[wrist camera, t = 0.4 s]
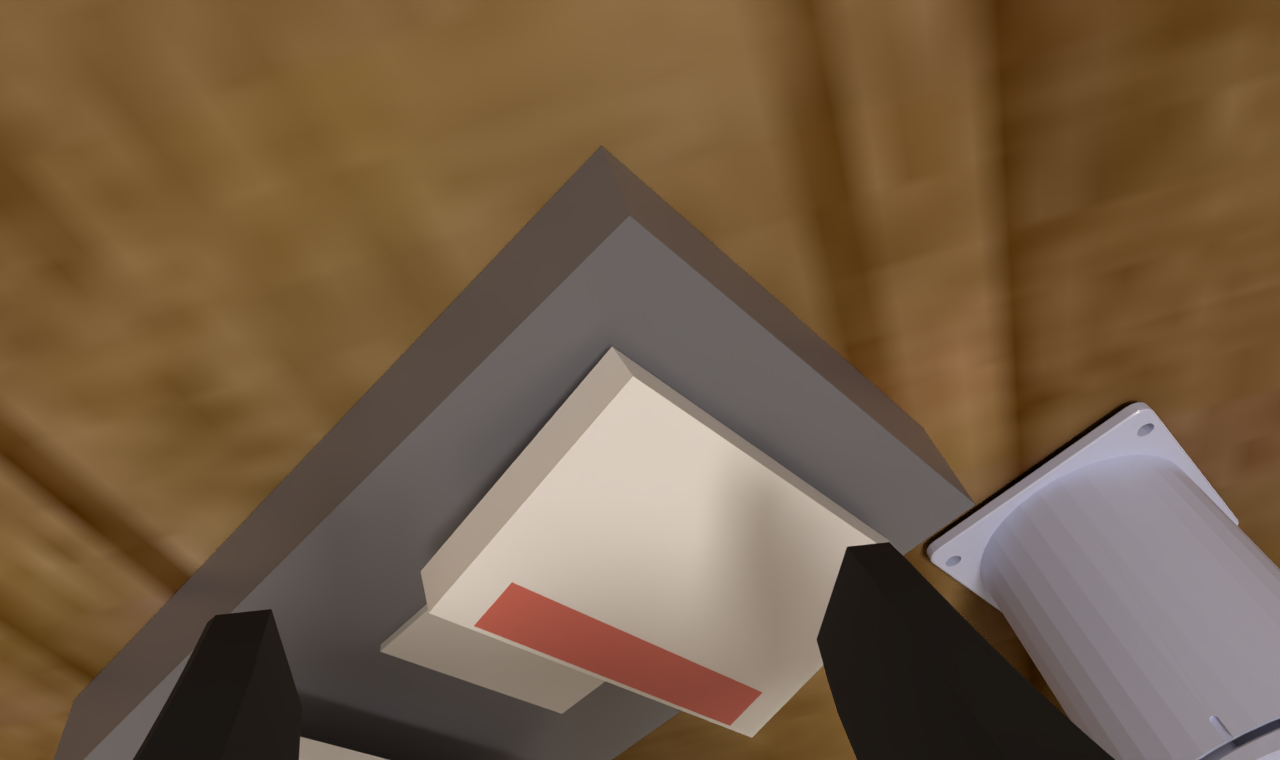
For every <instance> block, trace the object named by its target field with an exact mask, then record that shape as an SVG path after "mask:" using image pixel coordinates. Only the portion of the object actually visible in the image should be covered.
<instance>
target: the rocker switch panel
mask: <svg viewBox="0 0 1280 760" xmlns="http://www.w3.org/2000/svg"><path fill="white" fill-rule="evenodd" d="M611 347H614V348H615V349H616V350H618V351H619V352H621V353H622V354H623V355H625V356H626V357H628V358H629V359H631V360H632V361H633V362H635V363H636V364H638V365H639V366H641V367H642V368H643V369H645V370H646V371H648V372H649V373H651V374H652V375H653V376H655V377H656V378H658V379H659V380H661V381H662V382H663V383H665V384H666V385H668V386H669V387H671V388H672V389H673V390H675V391H676V392H678V393H679V394H681V395H682V396H683V397H685V398H686V399H688V400H689V401H691V402H692V403H693V404H695V405H696V406H698V407H699V408H701V409H702V410H703V411H705V412H706V413H708V414H709V415H711V416H712V417H713V418H715V419H716V420H718V421H719V422H721V423H722V424H723V425H725V426H726V427H728V428H729V429H731V430H732V431H733V432H735V433H736V434H738V435H739V436H741V437H742V438H743V439H745V440H746V441H748V442H749V443H751V444H752V445H753V446H755V447H756V448H758V449H759V450H761V451H762V452H763V453H765V454H766V455H768V456H769V457H771V458H772V459H773V460H775V461H776V462H778V463H779V464H781V465H782V466H783V467H785V468H786V469H788V470H789V471H791V472H792V473H793V474H795V475H796V476H798V477H799V478H801V479H802V480H803V481H805V482H806V483H808V484H809V485H811V486H812V487H813V488H815V489H816V490H818V491H819V492H820V493H822V494H823V495H825V496H826V497H828V498H829V499H830V500H832V501H833V502H835V503H836V504H838V505H839V506H840V507H842V508H843V509H845V510H846V511H848V512H849V513H850V514H852V515H853V516H855V517H856V518H858V519H859V520H860V521H862V522H863V523H865V524H866V525H868V526H869V527H870V528H872V529H873V530H875V531H876V532H878V533H879V534H880V535H882V536H883V537H885V538H886V539H888V540H889V541H890V543H891V544H892V545H893V546H894V547H895V548H896V549H897V550H898V551H899V552H900V553H901V554H902V555H904V554H906V553H907V552H909V551H910V550H911V549H913V548H914V547H916V546H917V545H919V544H920V543H921V542H923V541H924V540H926V539H927V538H929V537H930V536H931V535H933V534H934V533H936V532H937V531H939V530H940V529H941V528H943V527H944V526H946V525H947V524H948V523H950V522H951V521H953V520H954V519H956V518H957V517H958V516H960V515H961V514H963V513H964V512H966V511H967V510H968V509H970V508H971V507H973V506H974V505H975V503H974V502H973V500H972V499H971V497H970V496H969V494H968V493H967V491H966V490H965V489H964V487H963V486H962V484H961V483H960V481H959V480H958V478H957V477H956V475H955V474H954V472H953V471H952V470H951V468H950V467H949V465H948V464H947V462H946V461H945V459H944V458H943V456H942V455H941V453H940V452H939V451H938V449H937V448H936V446H935V445H934V443H933V442H932V440H931V439H930V437H929V436H928V434H927V433H926V432H925V430H924V429H923V428H922V427H921V426H920V425H919V424H918V423H917V422H915V421H914V420H913V419H912V418H911V417H910V416H909V415H908V414H906V413H905V412H904V411H903V410H902V409H901V408H900V407H898V406H897V405H896V404H895V403H894V402H893V401H892V400H890V399H889V398H888V397H887V396H886V395H885V394H884V393H883V392H881V391H880V390H879V389H878V388H877V387H876V386H875V385H873V384H872V383H871V382H870V381H869V380H868V379H867V378H865V377H864V376H863V375H862V374H861V373H860V372H859V371H857V370H856V369H855V368H854V367H853V366H852V365H851V364H850V363H848V362H847V361H846V360H845V359H844V358H843V357H842V356H840V355H839V354H838V353H837V352H836V351H835V350H834V349H832V348H831V347H830V346H829V345H828V344H827V343H826V342H824V341H823V340H822V339H821V338H820V337H819V336H818V335H817V334H815V333H814V332H813V331H812V330H811V329H810V328H809V327H807V326H806V325H805V324H804V323H803V322H802V321H801V320H799V319H798V318H797V317H796V316H795V315H794V314H793V313H792V312H790V311H789V310H788V309H787V308H786V307H785V306H784V305H782V304H781V303H780V302H779V301H778V300H777V299H776V298H774V297H773V296H772V295H771V294H770V293H769V292H768V291H766V290H765V289H764V288H763V287H762V286H761V285H760V284H759V283H757V282H756V281H755V280H754V279H753V278H752V277H751V276H749V275H748V274H747V273H746V272H745V271H744V270H743V269H741V268H740V267H739V266H738V265H737V264H736V263H735V262H734V261H732V260H731V259H730V258H729V257H728V256H727V255H726V254H724V253H723V252H722V251H721V250H720V249H719V248H718V247H716V246H715V245H714V244H713V243H712V242H711V241H710V240H708V239H707V238H706V237H705V236H704V235H703V234H702V233H701V232H699V231H698V230H697V229H696V228H695V227H694V226H693V225H691V224H690V223H689V222H688V221H687V220H686V219H685V218H683V217H682V216H681V215H680V214H679V213H678V212H677V211H675V210H674V209H673V208H672V207H671V206H670V205H669V204H668V203H666V202H665V201H664V200H663V199H662V198H661V197H660V196H658V195H657V194H656V193H655V192H654V191H653V190H652V189H650V188H649V187H648V186H647V185H646V184H645V183H644V182H643V181H641V180H640V179H639V178H638V177H637V176H636V175H635V174H633V173H632V172H631V171H630V170H629V169H628V168H627V167H625V166H624V165H623V164H622V163H621V162H620V161H619V160H617V159H616V158H615V157H614V156H613V155H612V154H611V153H610V152H608V151H607V150H606V149H605V148H604V147H603V146H601V147H600V148H599V149H598V150H597V151H596V152H595V153H594V154H593V155H592V156H591V157H590V158H589V159H588V160H587V162H586V163H585V164H584V165H583V166H582V167H581V168H580V169H579V170H578V171H577V172H576V173H575V174H574V175H573V176H572V177H571V178H570V179H569V180H568V182H567V183H566V184H565V185H564V186H563V187H562V188H561V189H560V190H559V191H558V192H557V193H556V194H555V195H554V196H553V197H552V198H551V199H550V200H549V201H548V203H547V204H546V205H545V206H544V207H543V208H542V209H541V210H540V211H539V212H538V213H537V214H536V215H535V216H534V217H533V218H532V219H531V220H530V221H529V223H528V224H527V225H526V226H525V227H524V228H523V229H522V230H521V231H520V232H519V233H518V234H517V235H516V236H515V237H514V238H513V239H512V240H511V241H510V242H509V244H508V245H507V246H506V247H505V248H504V249H503V250H502V251H501V252H500V253H499V254H498V255H497V256H496V257H495V258H494V259H493V260H492V261H491V262H490V264H489V265H488V266H487V267H486V268H485V269H484V270H483V271H482V272H481V273H480V274H479V275H478V276H477V277H476V278H475V279H474V280H473V281H472V282H471V283H470V285H469V286H468V287H467V288H466V289H465V290H464V291H463V292H462V293H461V294H460V295H459V296H458V297H457V298H456V299H455V300H454V301H453V302H452V303H451V305H450V306H449V307H448V308H447V309H446V310H445V311H444V312H443V313H442V314H441V315H440V316H439V317H438V318H437V319H436V320H435V321H434V322H433V323H432V324H431V326H430V327H429V328H428V329H427V330H426V331H425V332H424V333H423V334H422V335H421V336H420V337H419V338H418V339H417V340H416V341H415V342H414V343H413V344H412V346H411V347H410V348H409V349H408V350H407V351H406V352H405V353H404V354H403V355H402V356H401V357H400V358H399V359H398V360H397V361H396V362H395V363H394V364H393V365H392V367H391V368H390V369H389V370H388V371H387V372H386V373H385V374H384V375H383V376H382V377H381V378H380V379H379V380H378V381H377V382H376V383H375V384H374V385H373V387H372V388H371V389H370V390H369V391H368V392H367V393H366V394H365V395H364V396H363V397H362V398H361V399H360V400H359V401H358V402H357V403H356V404H355V405H354V406H353V408H352V409H351V410H350V411H349V412H348V413H347V414H346V415H345V416H344V417H343V418H342V419H341V420H340V421H339V422H338V423H337V424H336V425H335V426H334V427H333V429H332V430H331V431H330V432H329V433H328V434H327V435H326V436H325V437H324V438H323V439H322V440H321V441H320V442H319V443H318V444H317V445H316V446H315V447H314V449H313V450H312V451H311V452H310V453H309V454H308V455H307V456H306V457H305V458H304V459H303V460H302V461H301V462H300V463H299V464H298V465H297V466H296V467H295V468H294V470H293V471H292V472H291V473H290V474H289V475H288V476H287V477H286V478H285V479H284V480H283V481H282V482H281V483H280V484H279V485H278V486H277V487H276V488H275V490H274V491H273V492H272V493H271V494H270V495H269V496H268V497H267V498H266V499H265V500H264V501H263V502H262V503H261V504H260V505H259V506H258V507H257V508H256V509H255V511H254V512H253V513H252V514H251V515H250V516H249V517H248V518H247V519H246V520H245V521H244V522H243V523H242V524H241V525H240V526H239V527H238V528H237V529H236V531H235V532H234V533H233V534H232V535H231V536H230V537H229V538H228V539H227V540H226V541H225V542H224V543H223V544H222V545H221V546H220V547H219V548H218V549H217V550H216V552H215V553H214V554H213V555H212V556H211V557H210V558H209V559H208V560H207V561H206V562H205V563H204V564H203V565H202V566H201V567H200V568H199V569H198V570H197V572H196V573H195V574H194V575H193V576H192V577H191V578H190V579H189V580H188V581H187V582H186V583H185V584H184V585H183V586H182V587H181V588H180V589H179V590H178V591H177V593H176V594H175V595H174V596H173V597H172V598H171V599H170V600H169V601H168V602H167V603H166V604H165V605H164V606H163V607H162V608H161V609H160V610H159V611H158V613H157V614H156V615H155V616H154V617H153V618H152V619H151V620H150V621H149V622H148V623H147V624H146V625H145V626H144V627H143V628H142V629H141V630H140V631H139V632H138V634H137V635H136V636H135V637H134V638H133V639H132V640H131V641H130V642H129V643H128V644H127V645H126V646H125V647H124V648H123V649H122V650H121V651H120V652H119V654H118V655H117V656H116V657H115V658H114V659H113V660H112V661H111V662H110V663H109V664H108V665H107V666H106V667H105V668H104V669H103V670H102V671H101V672H100V673H99V675H98V676H97V677H96V678H95V679H94V680H93V681H92V682H91V683H90V684H89V685H88V686H87V687H86V688H85V689H84V690H83V691H82V692H81V693H80V695H79V696H78V697H77V698H76V699H75V700H74V702H73V705H72V708H71V711H70V714H69V717H68V720H67V722H66V725H65V728H64V731H63V734H62V737H61V740H60V743H59V746H58V749H57V752H56V755H55V757H54V760H133V758H134V757H135V755H136V753H137V752H138V750H139V748H140V747H141V745H142V743H143V742H144V740H145V738H146V736H147V735H148V733H149V731H150V729H151V728H152V726H153V724H154V722H155V720H156V719H157V717H158V715H159V713H160V712H161V710H162V708H163V706H164V705H165V703H166V701H167V699H168V697H169V695H170V694H171V692H172V690H173V688H174V686H175V684H176V683H177V681H178V679H179V677H180V675H181V673H182V671H183V669H184V667H185V666H186V664H187V662H188V660H189V658H190V656H191V654H192V652H193V650H194V648H195V646H196V644H197V642H198V640H199V638H200V636H201V634H202V632H203V630H204V628H205V626H206V624H207V622H208V621H209V620H211V619H212V618H213V617H214V616H215V615H221V614H230V613H239V612H249V611H258V610H267V609H272V612H273V616H274V619H275V622H276V625H277V628H278V632H279V635H280V638H281V641H282V644H283V648H284V651H285V654H286V657H287V660H288V664H289V667H290V670H291V673H292V676H293V680H294V683H295V686H296V689H297V692H298V696H299V699H300V702H301V705H302V714H301V732H300V737H304V738H308V739H311V740H315V741H319V742H323V743H327V744H331V745H334V746H338V747H342V748H346V749H350V750H354V751H357V752H361V753H365V754H369V755H373V756H376V757H380V758H384V759H388V760H612V759H614V758H615V757H617V756H618V755H619V754H621V753H622V752H624V751H625V750H627V749H628V748H629V747H631V746H632V745H634V744H635V743H636V742H638V741H639V740H641V739H642V738H644V737H645V736H646V735H648V734H649V733H651V732H652V731H654V730H655V729H656V728H658V727H659V726H661V725H662V724H664V723H665V722H666V721H668V720H669V719H671V718H672V717H674V716H675V715H676V714H678V713H679V712H681V710H679V709H676V708H673V707H671V706H668V705H666V704H663V703H660V702H658V701H655V700H653V699H650V698H648V697H645V696H642V695H640V694H637V693H635V692H632V691H629V690H627V689H624V688H622V687H619V686H616V685H614V684H611V683H609V682H606V681H604V680H601V679H598V678H596V677H593V676H591V675H588V674H585V673H583V672H580V671H578V670H575V669H572V668H570V667H567V666H565V665H562V664H559V663H557V662H554V661H552V660H549V659H547V658H544V657H541V656H539V655H536V654H534V653H531V652H528V651H526V650H523V649H521V648H518V647H515V646H513V645H510V644H508V643H505V642H503V641H500V640H497V639H495V638H492V637H490V636H487V635H484V634H482V633H479V632H477V631H474V630H471V629H469V628H466V627H464V626H461V625H459V624H456V623H453V622H451V621H448V620H446V619H443V618H440V617H438V616H435V615H433V614H430V613H429V612H428V607H427V602H426V596H425V591H424V586H423V581H422V576H421V570H422V569H423V568H424V567H425V566H426V565H427V563H428V562H429V561H430V560H431V559H432V557H433V556H434V555H435V554H436V553H437V552H438V550H439V549H440V548H441V547H442V546H443V545H444V543H445V542H446V541H447V540H448V539H449V537H450V536H451V535H452V534H453V533H454V532H455V530H456V529H457V528H458V527H459V526H460V525H461V523H462V522H463V521H464V520H465V519H466V518H467V516H468V515H469V514H470V513H471V512H472V510H473V509H474V508H475V507H476V506H477V505H478V503H479V502H480V501H481V500H482V499H483V498H484V496H485V495H486V494H487V493H488V492H489V490H490V489H491V488H492V487H493V486H494V485H495V483H496V482H497V481H498V480H499V479H500V478H501V476H502V475H503V474H504V473H505V472H506V470H507V469H508V468H509V467H510V466H511V465H512V463H513V462H514V461H515V460H516V459H517V458H518V456H519V455H520V454H521V453H522V452H523V450H524V449H525V448H526V447H527V446H528V445H529V443H530V442H531V441H532V440H533V439H534V438H535V436H536V435H537V434H538V433H539V432H540V431H541V429H542V428H543V427H544V426H545V425H546V423H547V422H548V421H549V420H550V419H551V418H552V416H553V415H554V414H555V413H556V412H557V411H558V409H559V408H560V407H561V406H562V405H563V403H564V402H565V401H566V400H567V399H568V398H569V396H570V395H571V394H572V393H573V392H574V391H575V389H576V388H577V387H578V386H579V385H580V383H581V382H582V381H583V380H584V379H585V378H586V376H587V375H588V374H589V373H590V372H591V371H592V369H593V368H594V367H595V366H596V365H597V364H598V362H599V361H600V360H601V359H602V358H603V356H604V355H605V354H606V353H607V352H608V351H609V349H610V348H611Z"/></svg>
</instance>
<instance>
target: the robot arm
mask: <svg viewBox="0 0 1280 760" xmlns="http://www.w3.org/2000/svg"><path fill="white" fill-rule="evenodd" d="M1238 523H1239V522H1238V519H1237V518H1236V517H1235V516H1234V514H1233V513H1232V512H1231V510H1230V509H1229V508H1228V507H1227V505H1226V504H1225V503H1224V501H1223V500H1222V499H1221V497H1220V496H1219V495H1218V494H1217V492H1216V491H1215V490H1214V488H1213V487H1212V486H1211V485H1210V483H1209V482H1208V481H1207V479H1206V478H1205V477H1204V476H1203V474H1202V473H1201V472H1200V470H1199V469H1198V468H1197V466H1196V465H1195V464H1194V463H1193V461H1192V460H1191V459H1190V457H1189V456H1188V455H1187V454H1186V452H1185V451H1184V450H1183V448H1182V447H1181V446H1180V445H1179V443H1178V442H1177V441H1176V439H1175V438H1174V437H1173V435H1172V434H1171V433H1170V432H1169V430H1168V429H1167V428H1166V426H1165V425H1164V424H1163V423H1162V421H1161V420H1160V419H1159V417H1158V416H1157V415H1156V413H1155V412H1154V411H1153V410H1152V409H1151V408H1150V407H1149V406H1148V405H1147V404H1145V403H1143V402H1137V403H1133V404H1130V405H1129V406H1127V407H1125V408H1124V409H1122V410H1121V411H1119V412H1118V413H1116V414H1115V415H1114V416H1112V417H1111V418H1109V419H1108V420H1106V421H1105V422H1104V423H1102V424H1101V425H1099V426H1098V427H1096V428H1095V429H1094V430H1092V431H1091V432H1089V433H1088V434H1086V435H1085V436H1084V437H1082V438H1081V439H1079V440H1078V441H1076V442H1075V443H1074V444H1072V445H1071V446H1069V447H1068V448H1066V449H1065V450H1064V451H1062V452H1061V453H1059V454H1058V455H1056V456H1055V457H1053V458H1052V459H1051V460H1049V461H1048V462H1046V463H1045V464H1043V465H1042V466H1041V467H1039V468H1038V469H1036V470H1035V471H1033V472H1032V473H1031V474H1029V475H1028V476H1026V477H1025V478H1023V479H1022V480H1021V481H1019V482H1018V483H1016V484H1015V485H1013V486H1012V487H1011V488H1009V489H1008V490H1006V491H1005V492H1003V493H1002V494H1001V495H999V496H998V497H996V498H995V499H993V500H992V501H990V502H989V503H988V504H986V505H985V506H983V507H982V508H980V509H979V510H978V511H976V512H975V513H973V514H972V515H970V516H969V517H968V518H966V519H965V520H963V521H962V522H960V523H959V524H958V525H956V526H955V527H953V528H952V529H950V530H949V531H948V532H946V533H945V534H943V535H942V536H940V537H939V538H938V539H936V540H935V541H933V542H932V543H931V544H930V545H929V547H928V548H927V555H928V556H929V558H930V560H931V561H932V563H933V564H935V565H936V566H937V567H939V568H940V569H942V570H943V571H944V572H946V573H947V574H949V575H950V576H952V577H953V578H954V579H956V580H957V581H959V582H960V583H961V584H963V585H964V586H966V587H967V588H968V589H970V590H971V591H973V592H974V593H975V594H977V595H978V596H980V597H981V598H982V599H984V600H985V601H987V602H988V603H989V604H991V605H992V606H994V607H995V608H997V609H998V610H999V611H1001V612H1002V613H1003V615H1004V616H1005V618H1006V619H1007V621H1008V623H1009V624H1010V626H1011V627H1012V629H1013V630H1014V632H1015V634H1016V635H1017V637H1018V638H1019V640H1020V641H1021V643H1022V645H1023V646H1024V648H1025V649H1026V651H1027V653H1028V654H1029V656H1030V657H1031V659H1032V660H1033V662H1034V664H1035V665H1036V667H1037V668H1038V670H1039V671H1040V673H1041V675H1042V676H1043V678H1044V679H1045V681H1046V683H1047V684H1048V686H1049V687H1050V689H1051V690H1052V692H1053V694H1054V695H1055V697H1056V698H1057V700H1058V702H1059V703H1060V705H1061V706H1062V708H1063V709H1064V711H1065V713H1066V714H1067V716H1068V717H1069V719H1070V720H1069V719H1068V718H1067V717H1066V716H1065V715H1064V714H1063V713H1062V712H1061V711H1059V710H1058V709H1057V708H1056V707H1055V706H1054V705H1053V704H1052V703H1051V702H1050V701H1049V700H1048V699H1046V698H1045V697H1044V696H1043V695H1042V694H1041V693H1040V692H1039V691H1038V690H1037V689H1036V688H1035V687H1034V686H1033V685H1032V684H1031V683H1030V682H1028V681H1027V680H1026V679H1025V678H1024V677H1023V676H1022V675H1021V674H1020V673H1019V672H1018V671H1017V670H1016V669H1015V668H1014V667H1013V666H1012V665H1011V664H1010V663H1009V662H1008V661H1007V660H1006V659H1005V658H1004V657H1003V656H1001V655H1000V654H999V653H998V652H997V651H996V650H995V649H994V648H993V647H992V646H991V645H990V644H989V643H988V642H987V641H986V640H985V639H984V638H983V637H982V636H981V635H980V634H979V633H978V632H977V631H976V630H975V629H974V628H973V627H972V626H971V625H970V624H969V623H968V622H967V621H966V620H965V619H964V618H963V617H962V616H961V615H960V614H959V613H958V612H957V611H956V610H955V609H954V608H953V607H952V606H951V604H950V603H949V602H948V601H947V600H946V599H945V598H944V597H943V596H942V595H941V594H940V593H939V592H938V591H937V590H936V589H935V588H934V587H933V586H932V585H931V584H930V583H929V582H928V581H927V580H926V579H925V578H924V577H923V576H922V575H921V574H920V573H919V572H918V571H917V570H916V569H915V568H914V566H913V565H912V564H911V563H910V562H909V561H908V560H907V559H906V558H905V557H904V556H903V555H902V554H901V553H900V552H899V551H898V550H897V549H896V548H895V547H894V546H893V545H892V544H891V543H890V542H886V543H876V544H867V545H858V546H849V547H847V548H846V551H845V554H844V557H843V560H842V564H841V567H840V570H839V573H838V576H837V579H836V582H835V585H834V588H833V591H832V594H831V597H830V600H829V603H828V606H827V609H826V612H825V615H824V618H823V621H822V624H821V627H820V630H819V633H818V636H817V639H816V640H817V643H818V647H819V650H820V654H821V658H822V661H823V665H824V668H825V672H826V675H827V679H828V682H829V685H830V689H831V692H832V695H833V698H834V702H835V705H836V708H837V711H838V714H839V717H840V719H841V722H842V724H843V727H844V729H845V731H846V734H847V736H848V739H849V741H850V743H851V746H852V748H853V750H854V753H855V755H856V757H857V760H1280V569H1279V568H1278V567H1277V566H1276V565H1275V564H1274V563H1273V562H1272V561H1271V560H1270V559H1269V558H1268V557H1267V556H1266V555H1265V554H1264V553H1263V552H1262V551H1261V550H1260V549H1259V548H1258V546H1257V545H1256V544H1255V543H1254V542H1253V541H1252V540H1251V539H1250V538H1249V537H1248V536H1247V535H1246V534H1245V533H1244V532H1243V531H1242V530H1241V529H1240V528H1239V527H1238ZM301 714H302V705H301V702H300V699H299V696H298V692H297V689H296V686H295V683H294V680H293V676H292V673H291V670H290V667H289V664H288V660H287V657H286V654H285V651H284V648H283V644H282V641H281V638H280V635H279V632H278V628H277V625H276V622H275V619H274V616H273V612H272V609H267V610H258V611H249V612H239V613H230V614H221V615H215V616H214V617H213V618H212V619H211V620H209V621H208V622H207V624H206V626H205V628H204V630H203V632H202V634H201V636H200V638H199V640H198V642H197V644H196V646H195V648H194V650H193V652H192V654H191V656H190V658H189V660H188V662H187V664H186V666H185V667H184V669H183V671H182V673H181V675H180V677H179V679H178V681H177V683H176V684H175V686H174V688H173V690H172V692H171V694H170V695H169V697H168V699H167V701H166V703H165V705H164V706H163V708H162V710H161V712H160V713H159V715H158V717H157V719H156V720H155V722H154V724H153V726H152V728H151V729H150V731H149V733H148V735H147V736H146V738H145V740H144V742H143V743H142V745H141V747H140V748H139V750H138V752H137V753H136V755H135V757H134V758H133V760H299V749H300V732H301Z"/></svg>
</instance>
